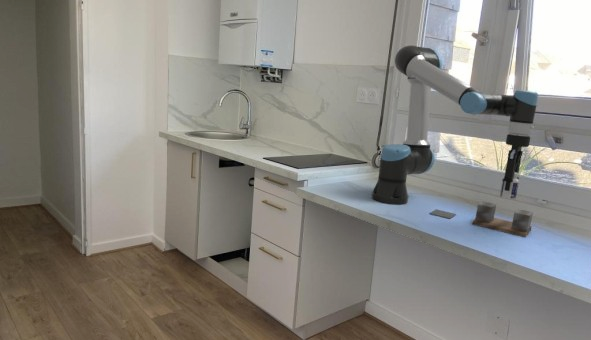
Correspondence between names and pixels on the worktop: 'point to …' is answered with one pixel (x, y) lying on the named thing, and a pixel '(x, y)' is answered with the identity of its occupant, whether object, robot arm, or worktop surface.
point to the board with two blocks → (516, 227)
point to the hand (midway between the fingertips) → (507, 197)
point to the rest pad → (442, 214)
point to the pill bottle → (514, 187)
